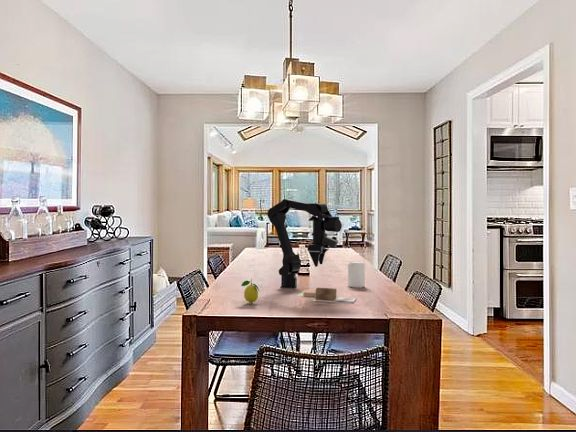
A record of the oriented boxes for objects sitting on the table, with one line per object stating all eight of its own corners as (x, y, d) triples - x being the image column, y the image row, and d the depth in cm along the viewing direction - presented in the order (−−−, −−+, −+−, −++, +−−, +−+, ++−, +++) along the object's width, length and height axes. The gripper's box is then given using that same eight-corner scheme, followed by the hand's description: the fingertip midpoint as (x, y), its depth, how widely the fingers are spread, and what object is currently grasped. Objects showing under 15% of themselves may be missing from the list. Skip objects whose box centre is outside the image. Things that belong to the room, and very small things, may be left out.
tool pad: (312, 301, 212) (312, 300, 212) (316, 298, 220) (316, 297, 220) (350, 304, 207) (350, 303, 207) (354, 300, 215) (354, 299, 215)
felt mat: (296, 296, 222) (296, 295, 222) (303, 292, 233) (303, 291, 233) (328, 299, 218) (328, 298, 218) (334, 294, 229) (334, 293, 229)
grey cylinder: (364, 288, 245) (364, 263, 245) (347, 287, 247) (347, 262, 246) (365, 285, 253) (365, 261, 253) (348, 285, 255) (348, 260, 254)
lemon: (240, 302, 208) (241, 277, 208) (254, 301, 210) (254, 277, 210) (246, 305, 202) (246, 280, 201) (260, 304, 204) (260, 279, 204)
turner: (314, 300, 212) (314, 289, 212) (318, 297, 219) (318, 286, 219) (353, 303, 208) (353, 291, 207) (356, 299, 214) (356, 289, 214)
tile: (308, 292, 229) (303, 296, 222) (308, 289, 229) (303, 292, 221) (325, 294, 227) (321, 297, 219) (325, 290, 227) (321, 293, 219)
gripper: (332, 232, 223) (331, 268, 223) (340, 230, 241) (340, 263, 241) (307, 232, 226) (306, 267, 226) (317, 229, 244) (317, 262, 244)
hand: (318, 265), depth 234 cm, fingers open, 9 cm apart
